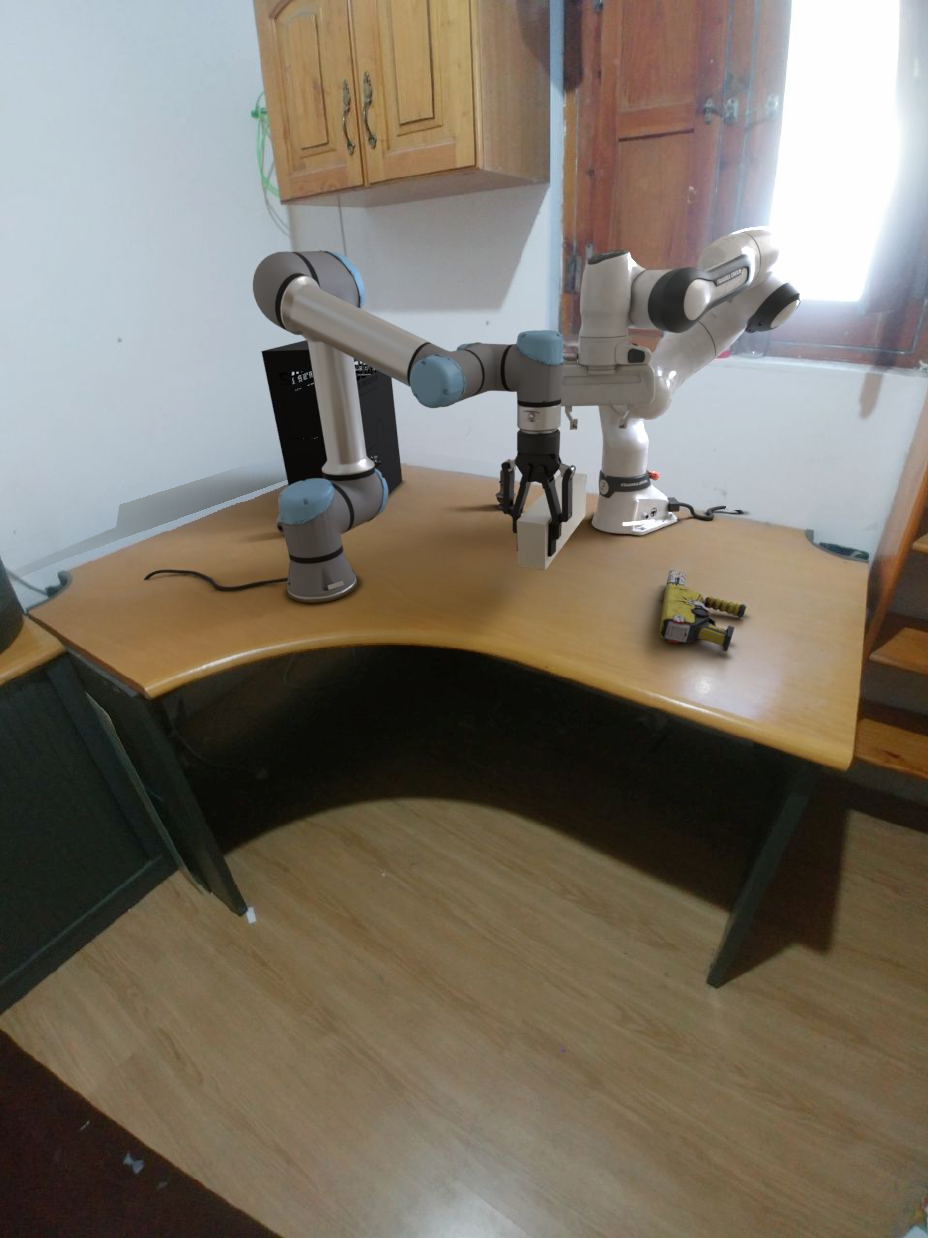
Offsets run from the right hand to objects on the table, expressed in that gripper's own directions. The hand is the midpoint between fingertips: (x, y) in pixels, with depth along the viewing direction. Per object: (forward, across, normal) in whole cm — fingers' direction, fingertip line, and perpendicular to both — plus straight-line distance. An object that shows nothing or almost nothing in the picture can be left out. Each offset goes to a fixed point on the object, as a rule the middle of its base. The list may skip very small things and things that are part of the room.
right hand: (597, 428), depth 119 cm
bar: (+21, -8, -6) cm, 23 cm away
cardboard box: (+32, -71, +50) cm, 92 cm away
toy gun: (+32, +21, -19) cm, 42 cm away
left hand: (+19, -11, -16) cm, 28 cm away
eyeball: (+32, -80, +21) cm, 89 cm away
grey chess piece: (+32, -22, +44) cm, 58 cm away
